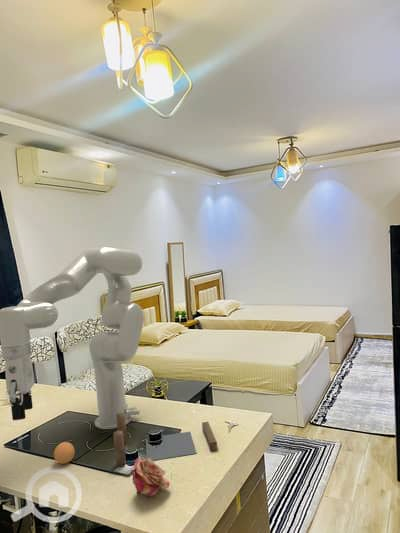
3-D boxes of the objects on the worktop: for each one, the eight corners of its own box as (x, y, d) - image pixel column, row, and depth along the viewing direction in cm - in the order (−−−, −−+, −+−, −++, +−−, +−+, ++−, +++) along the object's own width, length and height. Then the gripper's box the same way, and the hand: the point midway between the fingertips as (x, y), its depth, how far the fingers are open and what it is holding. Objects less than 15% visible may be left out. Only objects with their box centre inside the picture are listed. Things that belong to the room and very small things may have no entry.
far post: (127, 440, 122) (124, 412, 122) (127, 444, 120) (124, 415, 120) (118, 442, 122) (116, 413, 122) (118, 446, 120) (115, 416, 119)
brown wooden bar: (208, 429, 126) (208, 421, 126) (217, 450, 112) (216, 441, 112) (202, 430, 125) (201, 422, 125) (210, 451, 112) (209, 442, 111)
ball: (76, 456, 115) (75, 437, 115) (73, 465, 110) (71, 446, 110) (57, 459, 115) (55, 440, 114) (52, 469, 109) (51, 449, 109)
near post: (126, 461, 110) (123, 430, 110) (125, 466, 107) (122, 434, 107) (116, 463, 110) (113, 431, 109) (116, 468, 107) (113, 435, 107)
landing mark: (190, 432, 125) (190, 431, 125) (196, 453, 111) (196, 453, 111) (145, 438, 123) (145, 438, 123) (146, 461, 109) (146, 461, 109)
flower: (123, 503, 88) (142, 474, 88) (120, 474, 97) (136, 447, 97) (159, 515, 92) (177, 486, 91) (153, 486, 100) (169, 460, 100)
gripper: (21, 357, 102) (28, 425, 102) (38, 342, 119) (44, 401, 119) (-10, 360, 101) (-3, 429, 101) (12, 345, 118) (18, 404, 118)
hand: (23, 413), depth 110 cm, fingers open, 6 cm apart
